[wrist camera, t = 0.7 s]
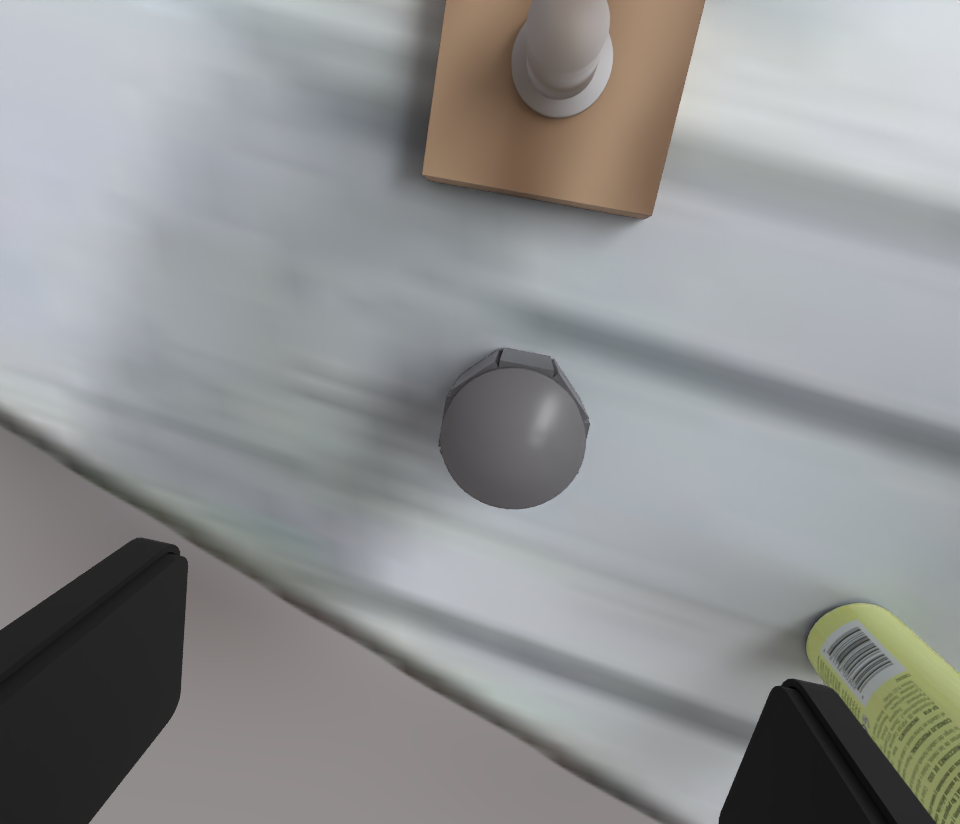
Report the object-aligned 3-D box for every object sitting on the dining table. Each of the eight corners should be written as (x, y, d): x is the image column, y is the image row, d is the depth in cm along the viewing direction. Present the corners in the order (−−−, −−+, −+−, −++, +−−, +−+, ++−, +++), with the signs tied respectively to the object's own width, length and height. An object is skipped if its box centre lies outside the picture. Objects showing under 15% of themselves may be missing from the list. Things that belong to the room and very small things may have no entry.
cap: (589, 363, 26) (604, 384, 21) (562, 480, 27) (569, 524, 23) (464, 340, 26) (451, 354, 21) (444, 457, 28) (427, 495, 23)
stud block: (707, -40, 21) (761, -134, 17) (644, 219, 24) (674, 204, 19) (464, -79, 22) (446, -182, 17) (428, 180, 24) (403, 156, 19)
